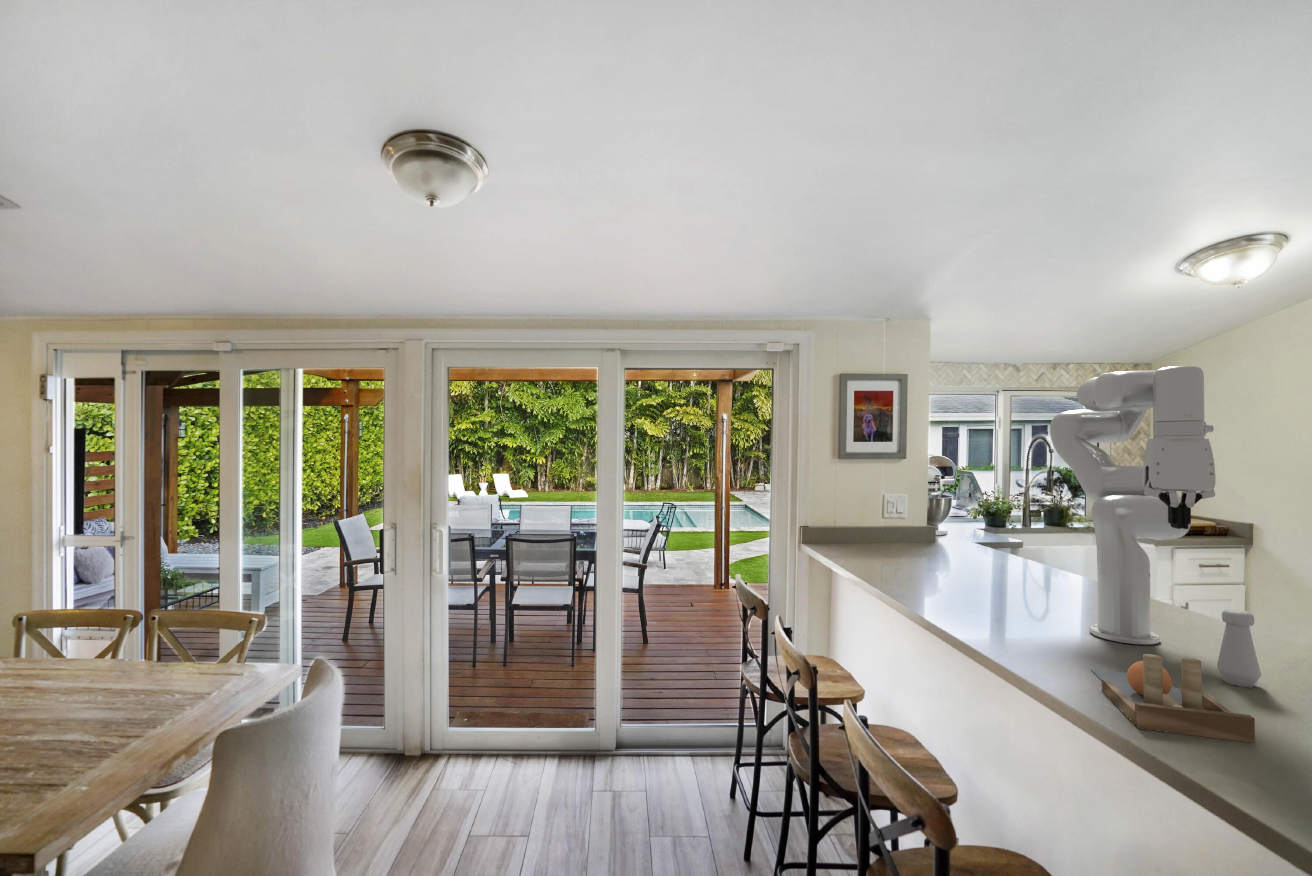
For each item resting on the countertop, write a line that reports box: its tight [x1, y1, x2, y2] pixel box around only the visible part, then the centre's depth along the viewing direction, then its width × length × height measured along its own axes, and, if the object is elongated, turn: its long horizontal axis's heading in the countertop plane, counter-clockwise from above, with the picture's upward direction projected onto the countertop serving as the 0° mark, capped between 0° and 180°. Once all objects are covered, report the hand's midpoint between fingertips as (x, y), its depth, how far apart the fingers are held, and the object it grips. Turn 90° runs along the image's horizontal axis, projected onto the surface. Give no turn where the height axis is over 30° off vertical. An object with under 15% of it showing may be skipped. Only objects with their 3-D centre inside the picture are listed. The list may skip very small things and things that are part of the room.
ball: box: [1126, 660, 1173, 696], centre depth 106 cm, size 6×6×6 cm
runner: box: [1090, 668, 1204, 710], centre depth 105 cm, size 26×11×1 cm, turn 161°
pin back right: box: [1142, 653, 1164, 705], centre depth 100 cm, size 2×2×9 cm
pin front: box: [1163, 694, 1184, 708], centre depth 98 cm, size 2×2×9 cm
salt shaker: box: [1216, 608, 1262, 688], centre depth 113 cm, size 6×6×13 cm
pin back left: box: [1180, 656, 1203, 710], centre depth 98 cm, size 2×2×9 cm
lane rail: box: [1101, 679, 1256, 744], centre depth 100 cm, size 16×14×4 cm
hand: (1179, 527), depth 119 cm, fingers closed
